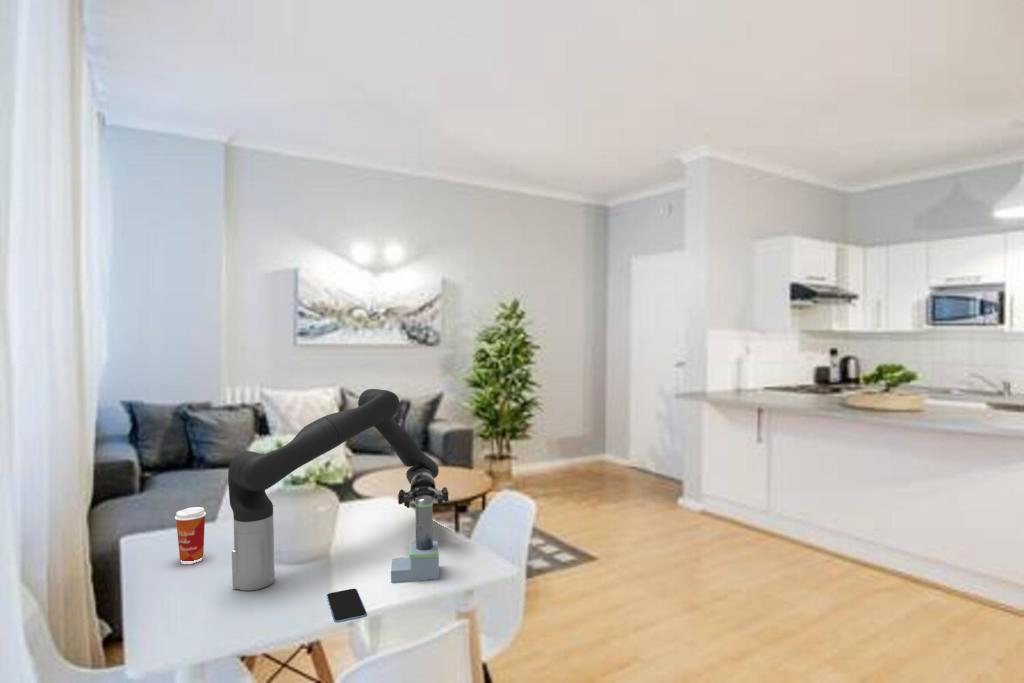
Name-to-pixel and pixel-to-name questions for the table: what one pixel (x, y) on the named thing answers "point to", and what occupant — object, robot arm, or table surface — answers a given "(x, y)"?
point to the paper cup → (190, 533)
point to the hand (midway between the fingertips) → (423, 503)
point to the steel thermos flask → (424, 522)
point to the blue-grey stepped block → (416, 565)
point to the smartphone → (346, 605)
